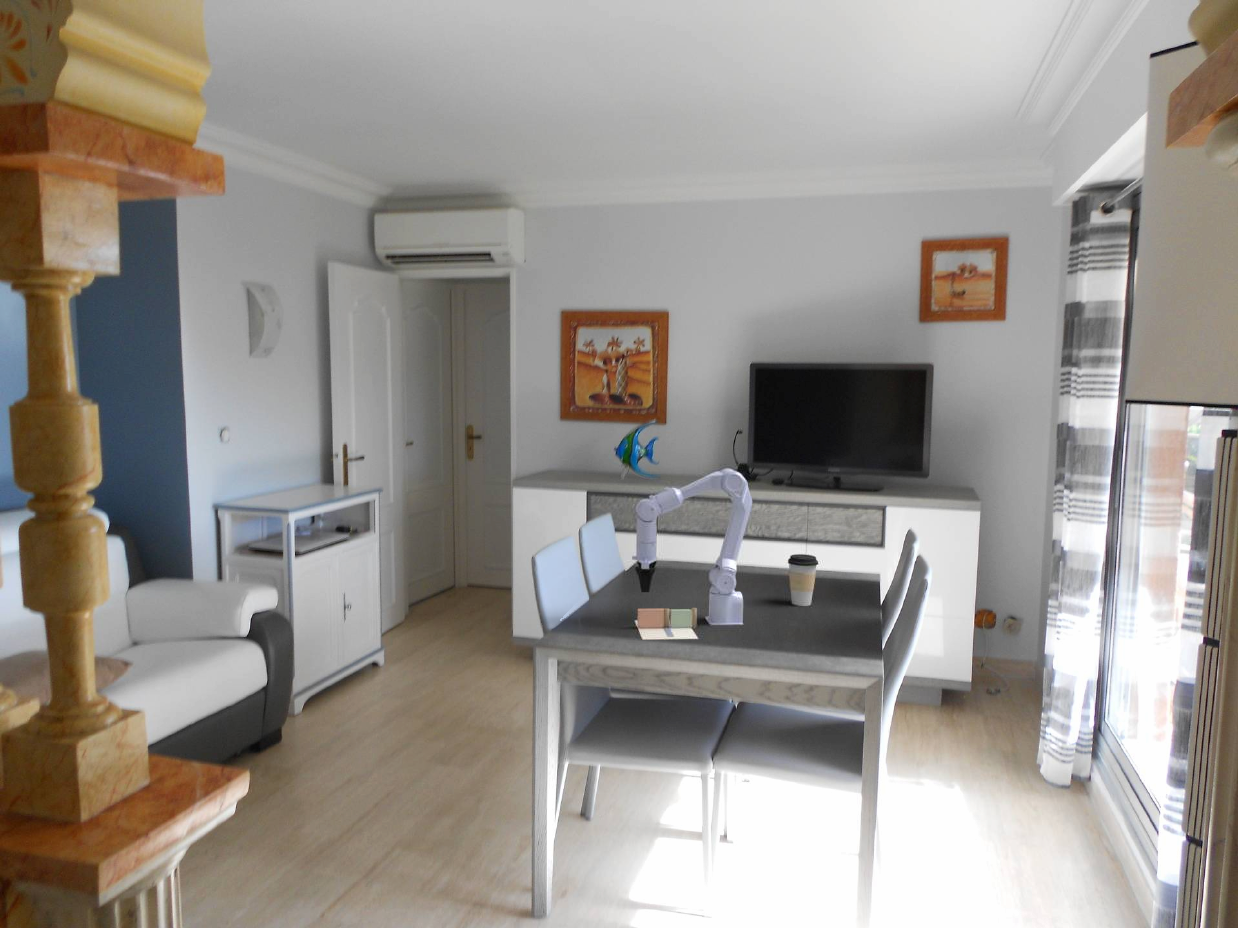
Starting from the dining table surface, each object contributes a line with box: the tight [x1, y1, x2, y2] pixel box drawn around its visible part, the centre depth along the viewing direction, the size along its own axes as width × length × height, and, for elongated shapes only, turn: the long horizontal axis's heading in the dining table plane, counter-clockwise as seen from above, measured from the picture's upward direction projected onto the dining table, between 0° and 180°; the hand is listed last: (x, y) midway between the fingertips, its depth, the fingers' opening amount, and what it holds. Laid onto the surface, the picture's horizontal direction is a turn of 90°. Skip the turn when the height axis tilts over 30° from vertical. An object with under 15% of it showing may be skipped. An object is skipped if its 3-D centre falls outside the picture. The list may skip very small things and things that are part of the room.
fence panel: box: [637, 607, 670, 629], centre depth 245 cm, size 9×2×5 cm, turn 96°
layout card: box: [634, 619, 699, 641], centre depth 244 cm, size 15×19×1 cm
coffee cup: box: [787, 553, 819, 607], centre depth 275 cm, size 9×9×15 cm
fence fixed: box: [669, 607, 698, 629], centre depth 246 cm, size 7×2×5 cm, turn 96°
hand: (645, 588), depth 251 cm, fingers open, 7 cm apart
